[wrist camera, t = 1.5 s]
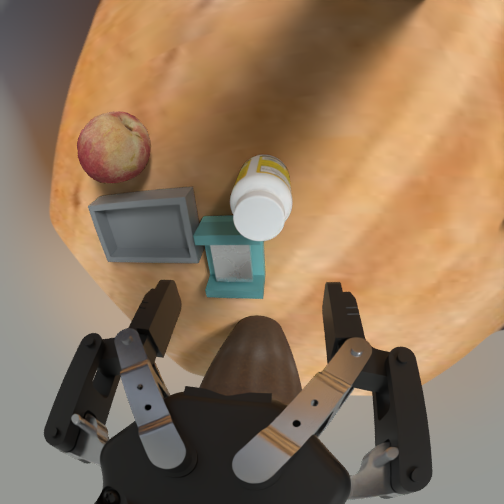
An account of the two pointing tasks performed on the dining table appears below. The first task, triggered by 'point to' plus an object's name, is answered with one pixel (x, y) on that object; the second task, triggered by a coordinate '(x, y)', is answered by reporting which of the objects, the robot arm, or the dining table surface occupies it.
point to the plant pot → (255, 362)
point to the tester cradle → (225, 233)
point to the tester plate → (232, 263)
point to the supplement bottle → (261, 198)
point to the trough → (148, 226)
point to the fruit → (113, 147)
